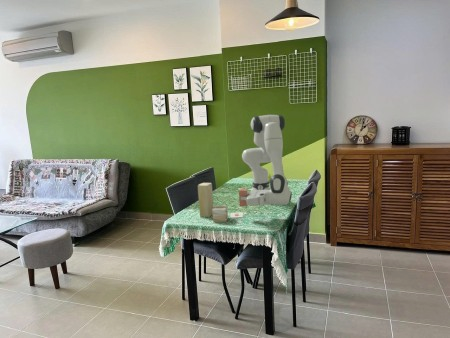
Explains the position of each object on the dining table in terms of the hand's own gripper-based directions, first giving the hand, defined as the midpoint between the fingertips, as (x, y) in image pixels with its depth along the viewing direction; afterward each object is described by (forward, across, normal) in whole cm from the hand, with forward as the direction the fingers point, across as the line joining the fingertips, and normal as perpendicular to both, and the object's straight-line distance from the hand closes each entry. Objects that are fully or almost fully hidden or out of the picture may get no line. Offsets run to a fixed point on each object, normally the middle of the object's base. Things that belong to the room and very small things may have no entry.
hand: (241, 196), depth 208 cm
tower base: (+14, +3, +14) cm, 20 cm away
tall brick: (-1, 0, +6) cm, 6 cm away
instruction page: (+6, -7, +15) cm, 17 cm away
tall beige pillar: (+25, -5, +15) cm, 30 cm away
